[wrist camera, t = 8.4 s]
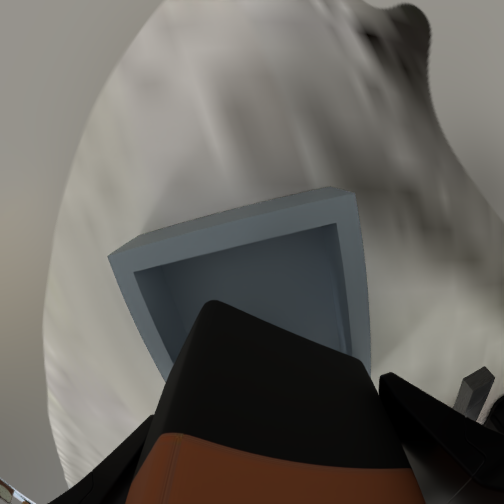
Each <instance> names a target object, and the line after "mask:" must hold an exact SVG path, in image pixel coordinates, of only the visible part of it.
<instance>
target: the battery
mask: <svg viewBox="0 0 504 504" xmlns="http://www.w3.org/2000/svg"><path fill="white" fill-rule="evenodd" d="M125 504H426V502H425V500H424V497H423V494H422V492H421V489H420V487H419V484H418V482H417V479H416V477H415V475H414V472H413V470H412V467H411V465H410V463H409V460H408V458H407V456H406V453H405V451H404V449H403V446H402V444H401V442H400V440H399V437H398V435H397V433H396V431H395V429H394V427H393V425H392V423H391V420H390V418H389V416H388V414H387V412H386V410H385V408H384V405H383V403H382V401H381V399H380V397H379V394H378V392H377V390H376V388H375V386H374V384H373V382H372V380H371V378H370V376H369V374H368V372H367V370H366V368H365V366H364V364H363V363H362V361H361V360H359V359H357V358H355V357H352V356H350V355H347V354H345V353H342V352H339V351H337V350H334V349H332V348H329V347H326V346H324V345H321V344H319V343H316V342H314V341H311V340H309V339H307V338H304V337H302V336H299V335H297V334H294V333H292V332H290V331H287V330H285V329H283V328H280V327H278V326H276V325H273V324H271V323H269V322H266V321H264V320H262V319H260V318H257V317H255V316H253V315H251V314H248V313H246V312H244V311H242V310H240V309H237V308H235V307H233V306H231V305H229V304H226V303H224V302H222V301H218V300H210V301H208V302H206V303H205V304H204V305H203V307H202V308H201V310H200V312H199V314H198V316H197V318H196V320H195V322H194V324H193V326H192V328H191V330H190V332H189V334H188V336H187V338H186V340H185V342H184V344H183V346H182V348H181V351H180V353H179V355H178V357H177V359H176V361H175V363H174V365H173V367H172V369H171V371H170V373H169V376H168V378H167V381H166V384H165V386H164V389H163V392H162V395H161V397H160V400H159V403H158V406H157V409H156V411H155V414H154V417H153V420H152V423H151V426H150V429H149V431H148V434H147V437H146V440H145V443H144V446H143V449H142V452H141V455H140V458H139V461H138V464H137V467H136V470H135V473H134V477H133V480H132V483H131V486H130V489H129V492H128V496H127V499H126V502H125Z"/></svg>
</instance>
